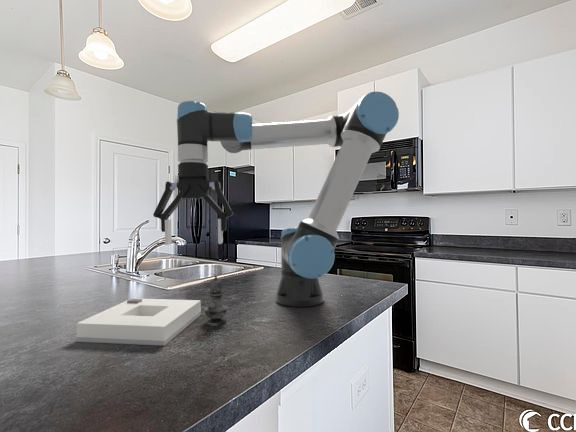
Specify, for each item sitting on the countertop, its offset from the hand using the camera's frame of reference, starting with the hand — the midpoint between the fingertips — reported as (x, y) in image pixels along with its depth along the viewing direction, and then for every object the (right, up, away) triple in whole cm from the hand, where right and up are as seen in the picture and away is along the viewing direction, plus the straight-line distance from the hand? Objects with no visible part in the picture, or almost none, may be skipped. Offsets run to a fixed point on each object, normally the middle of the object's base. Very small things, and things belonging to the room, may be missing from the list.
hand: (194, 244), depth 82 cm
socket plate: (-10, -20, -6) cm, 23 cm away
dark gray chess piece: (+6, -20, -2) cm, 21 cm away
